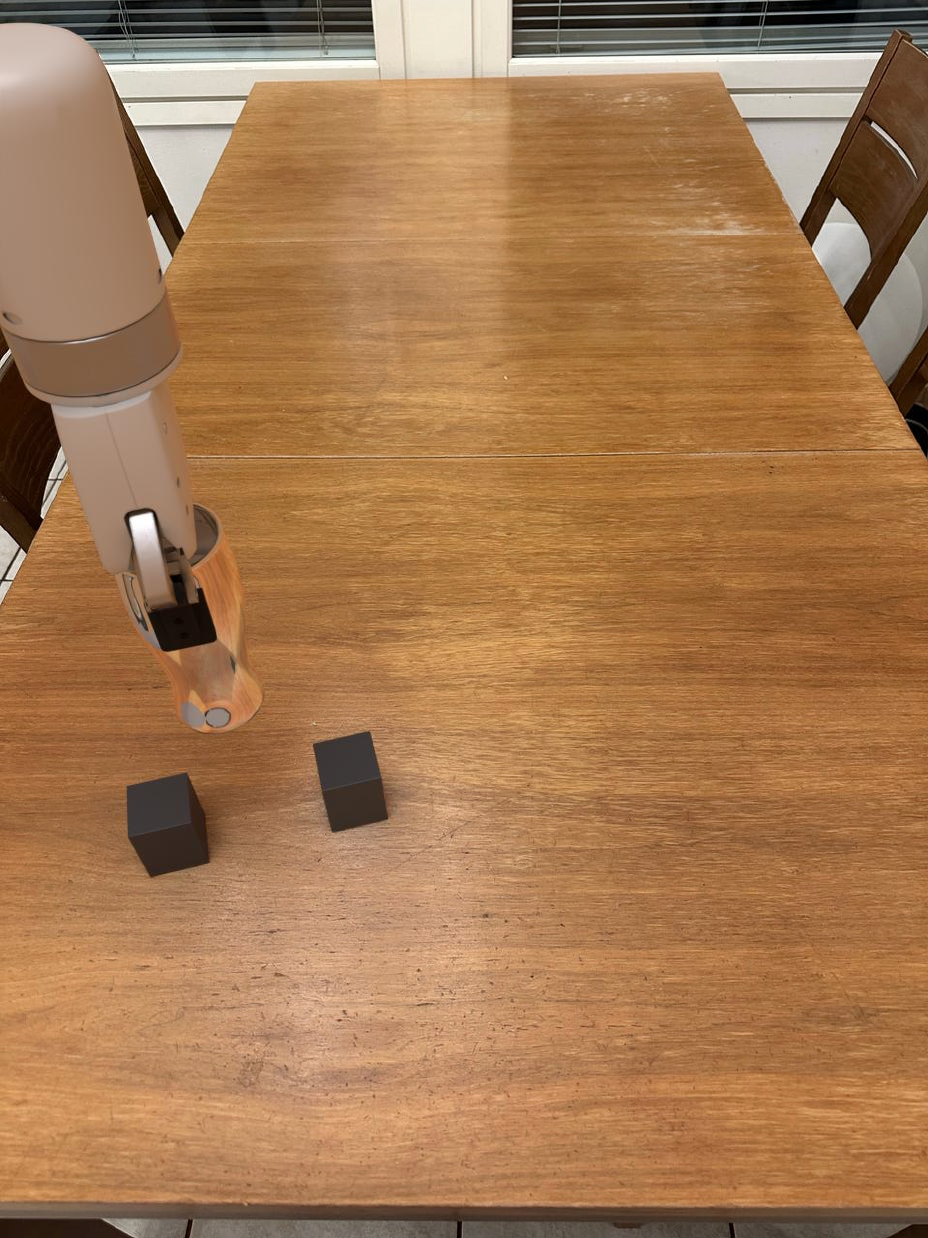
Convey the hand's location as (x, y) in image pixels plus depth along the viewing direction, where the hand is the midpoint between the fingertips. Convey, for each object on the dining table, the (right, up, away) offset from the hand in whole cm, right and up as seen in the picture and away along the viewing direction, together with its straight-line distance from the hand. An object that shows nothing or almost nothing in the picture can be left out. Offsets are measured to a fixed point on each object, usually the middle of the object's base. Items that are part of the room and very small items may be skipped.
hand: (185, 596), depth 57 cm
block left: (-5, -19, +16) cm, 26 cm away
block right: (+8, -16, +18) cm, 26 cm away
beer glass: (0, -7, +8) cm, 10 cm away
